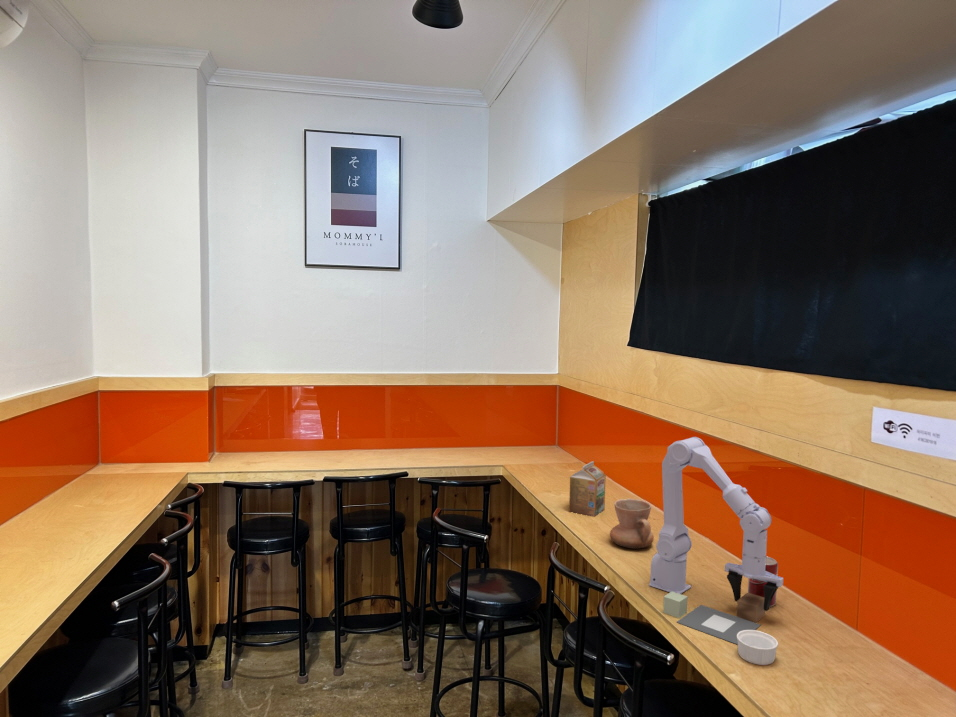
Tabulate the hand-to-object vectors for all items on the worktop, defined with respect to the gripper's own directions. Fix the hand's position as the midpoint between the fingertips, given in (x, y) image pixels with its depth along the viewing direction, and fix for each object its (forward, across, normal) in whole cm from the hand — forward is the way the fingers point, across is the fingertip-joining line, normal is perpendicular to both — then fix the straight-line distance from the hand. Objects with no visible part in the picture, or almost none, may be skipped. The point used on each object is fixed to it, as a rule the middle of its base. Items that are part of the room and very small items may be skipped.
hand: (751, 604), depth 176 cm
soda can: (+3, -1, +10) cm, 11 cm away
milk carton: (+3, -81, +43) cm, 92 cm away
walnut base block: (+3, 0, 0) cm, 3 cm away
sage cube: (+3, -15, -13) cm, 20 cm away
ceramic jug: (+3, -49, +23) cm, 54 cm away
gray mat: (+3, -4, -11) cm, 12 cm away
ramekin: (+3, +9, -20) cm, 22 cm away
